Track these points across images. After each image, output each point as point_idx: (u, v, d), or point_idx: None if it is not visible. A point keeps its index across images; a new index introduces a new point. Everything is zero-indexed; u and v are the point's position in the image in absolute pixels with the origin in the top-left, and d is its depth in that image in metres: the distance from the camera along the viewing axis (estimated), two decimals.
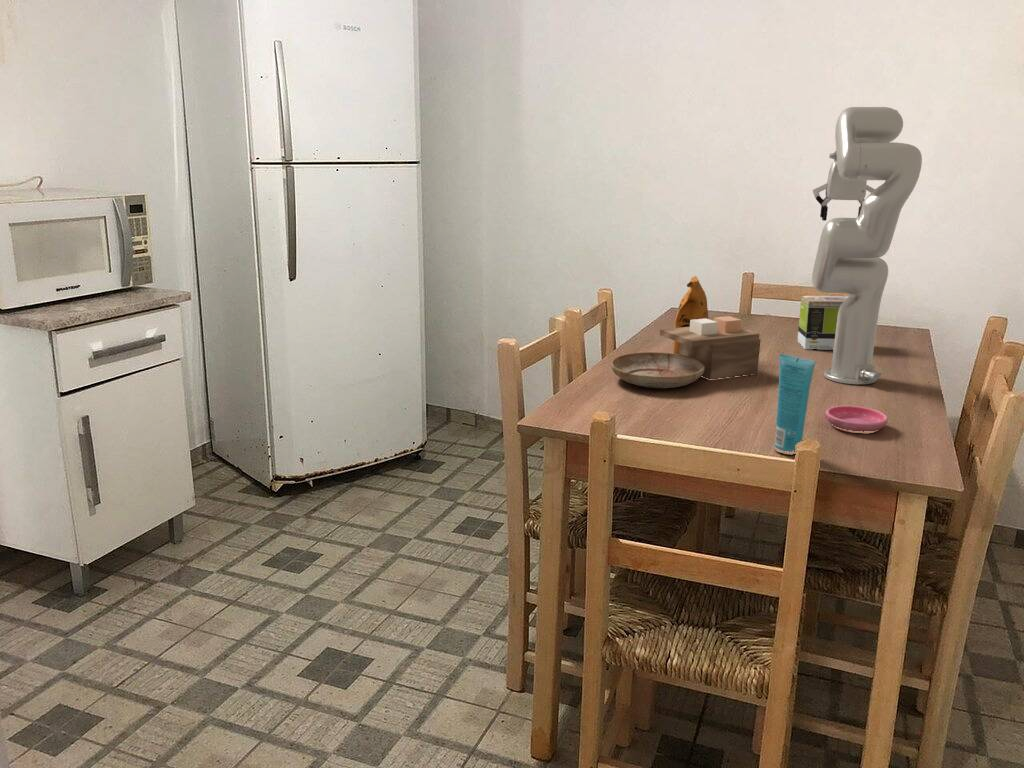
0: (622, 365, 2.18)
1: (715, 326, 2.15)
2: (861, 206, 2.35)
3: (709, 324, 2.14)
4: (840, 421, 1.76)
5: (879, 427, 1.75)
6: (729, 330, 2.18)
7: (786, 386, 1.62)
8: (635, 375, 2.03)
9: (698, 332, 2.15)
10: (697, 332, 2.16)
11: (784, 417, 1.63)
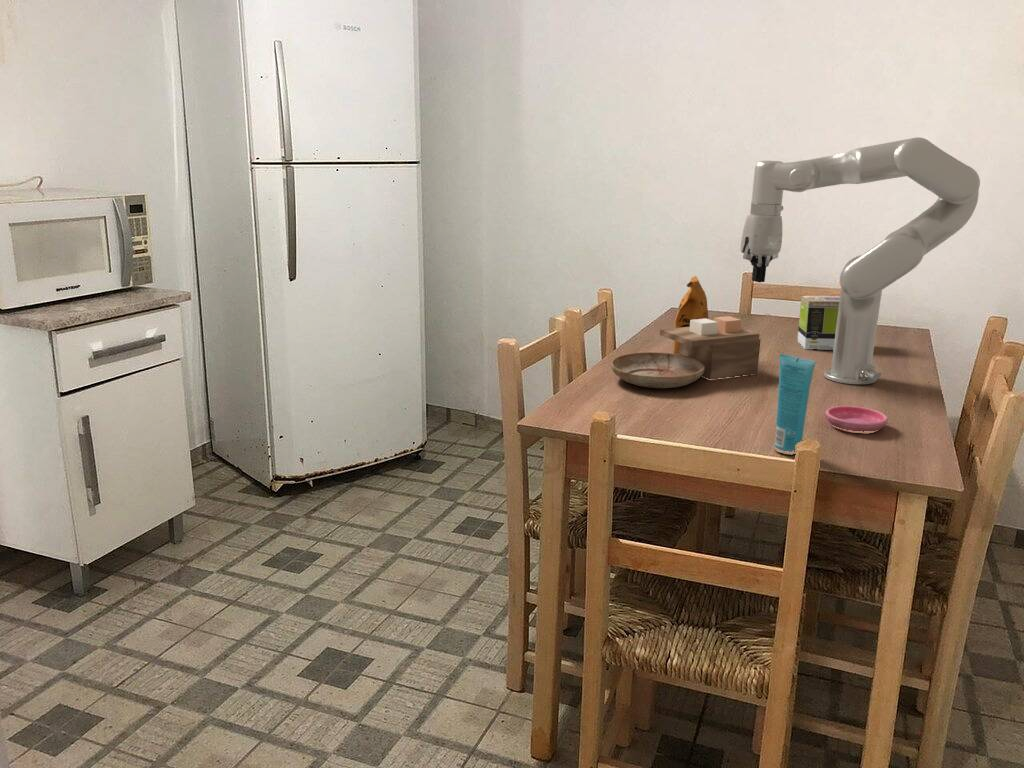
0: (622, 365, 2.18)
1: (715, 326, 2.15)
2: None
3: (709, 324, 2.14)
4: (840, 421, 1.76)
5: (879, 427, 1.75)
6: (729, 330, 2.18)
7: (786, 386, 1.62)
8: (635, 375, 2.03)
9: (698, 332, 2.15)
10: (697, 332, 2.16)
11: (784, 417, 1.63)
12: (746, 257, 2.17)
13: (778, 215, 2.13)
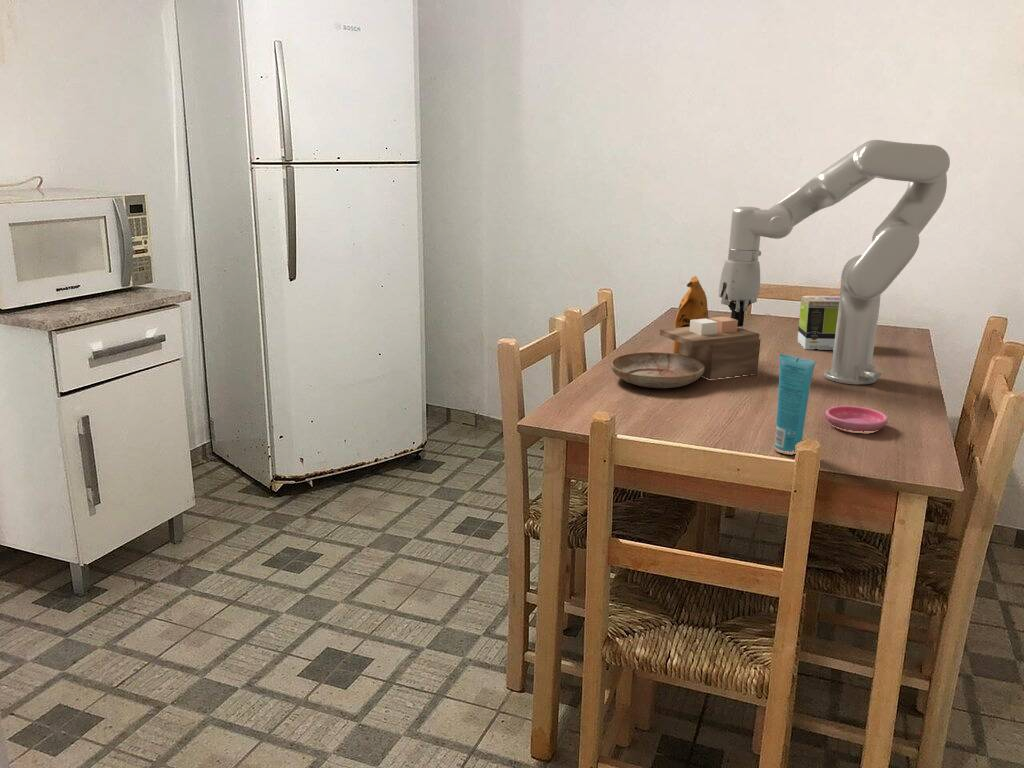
0: (622, 365, 2.18)
1: (715, 326, 2.15)
2: None
3: (709, 324, 2.14)
4: (840, 421, 1.76)
5: (879, 427, 1.75)
6: (725, 330, 2.17)
7: (786, 386, 1.62)
8: (635, 375, 2.03)
9: (698, 332, 2.15)
10: (697, 332, 2.16)
11: (784, 417, 1.63)
12: (724, 302, 2.17)
13: (755, 261, 2.14)
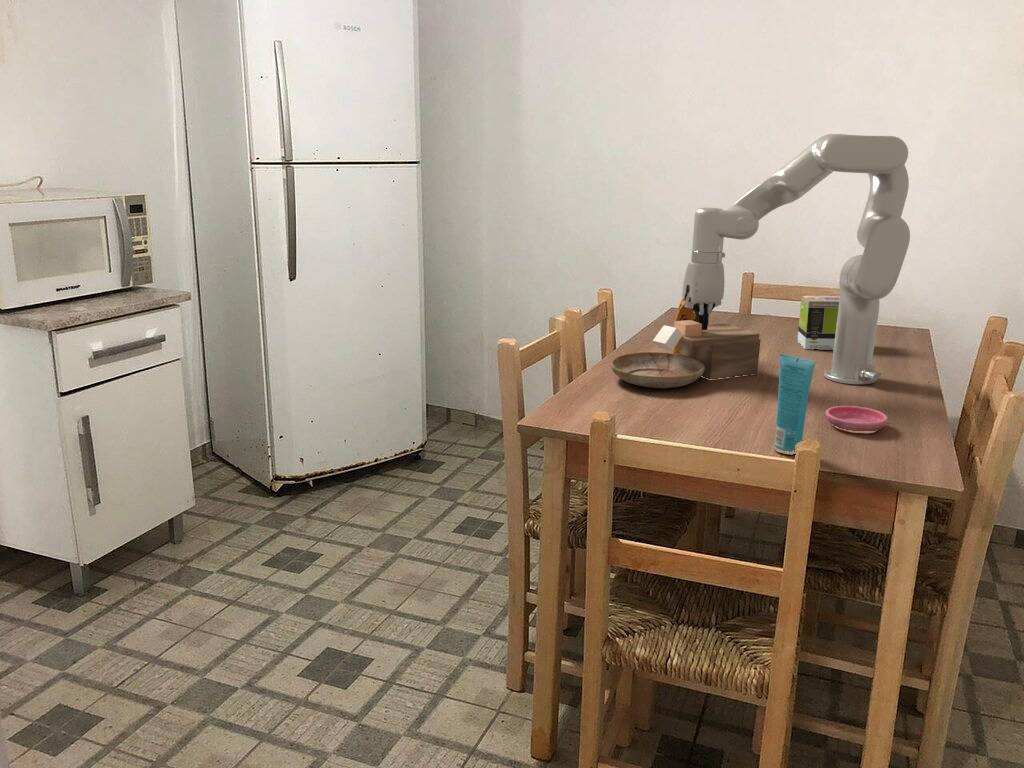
0: (622, 365, 2.18)
1: (677, 332, 2.11)
2: None
3: (671, 337, 2.10)
4: (840, 421, 1.76)
5: (879, 427, 1.75)
6: (689, 334, 2.13)
7: (786, 386, 1.62)
8: (635, 375, 2.03)
9: (668, 348, 2.12)
10: (667, 348, 2.12)
11: (784, 417, 1.63)
12: (687, 305, 2.13)
13: (719, 263, 2.10)
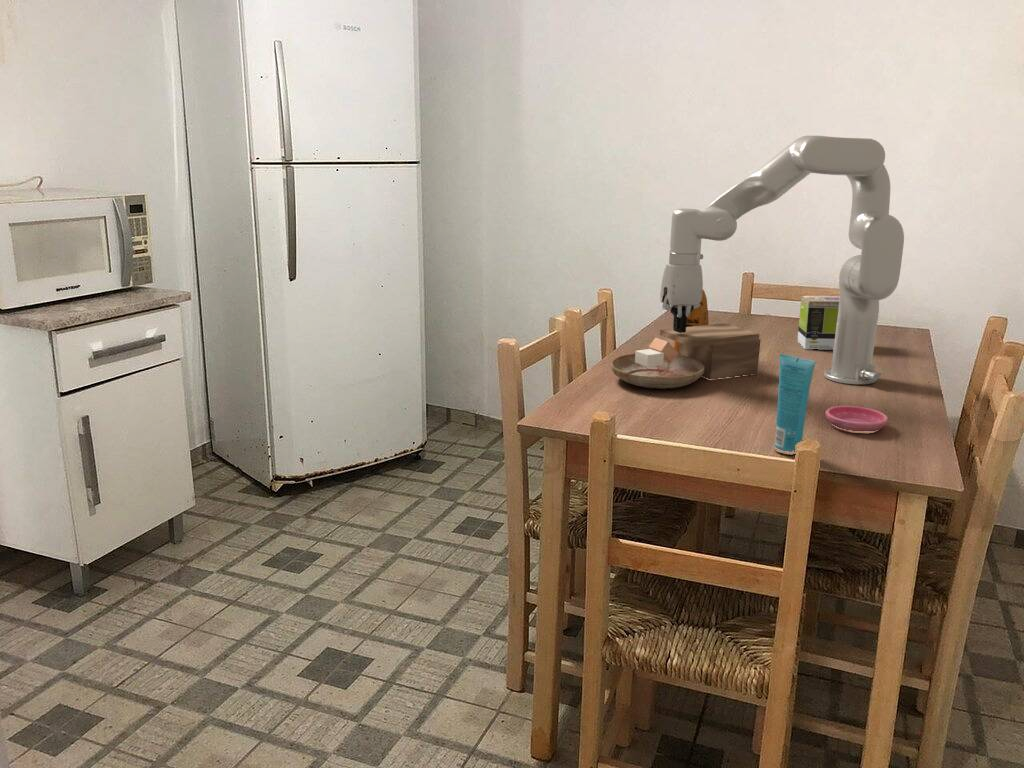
0: (622, 365, 2.18)
1: (649, 362, 2.08)
2: None
3: (655, 364, 2.09)
4: (840, 421, 1.76)
5: (879, 427, 1.75)
6: (674, 351, 2.12)
7: (786, 386, 1.62)
8: (635, 375, 2.03)
9: None
10: None
11: (784, 417, 1.63)
12: (665, 308, 2.10)
13: (696, 265, 2.07)
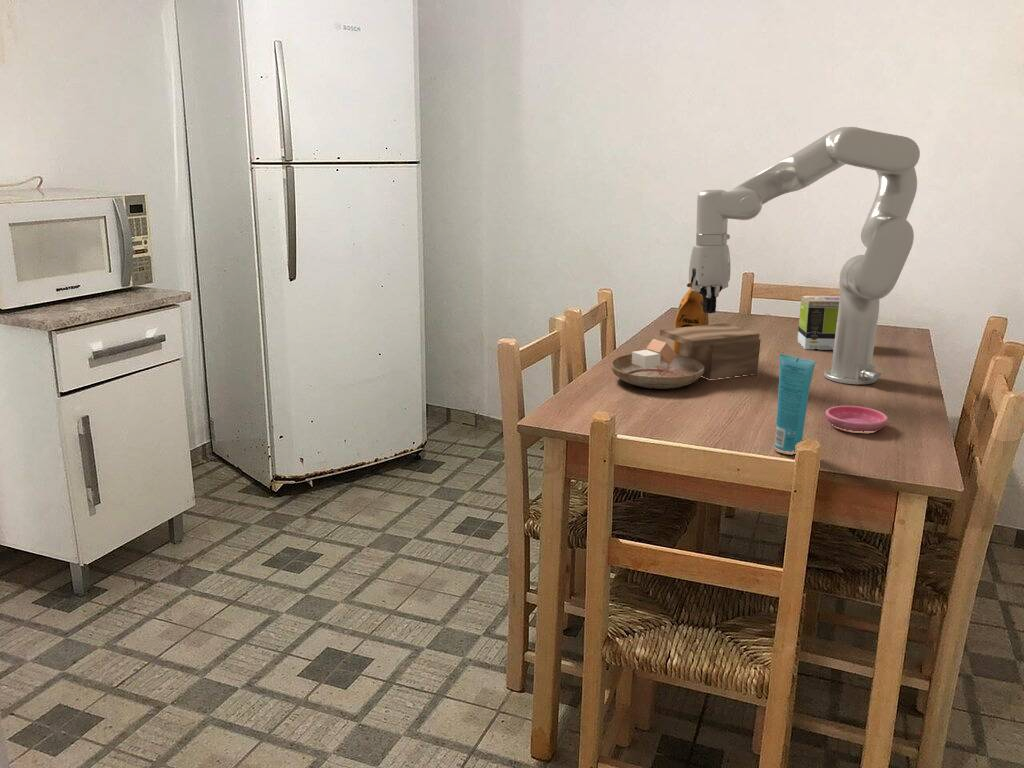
0: (622, 365, 2.18)
1: (646, 363, 2.07)
2: None
3: (652, 365, 2.09)
4: (840, 421, 1.76)
5: (879, 427, 1.75)
6: (672, 352, 2.11)
7: (786, 386, 1.62)
8: (635, 376, 2.02)
9: None
10: None
11: (784, 417, 1.63)
12: (694, 289, 2.12)
13: (724, 245, 2.09)
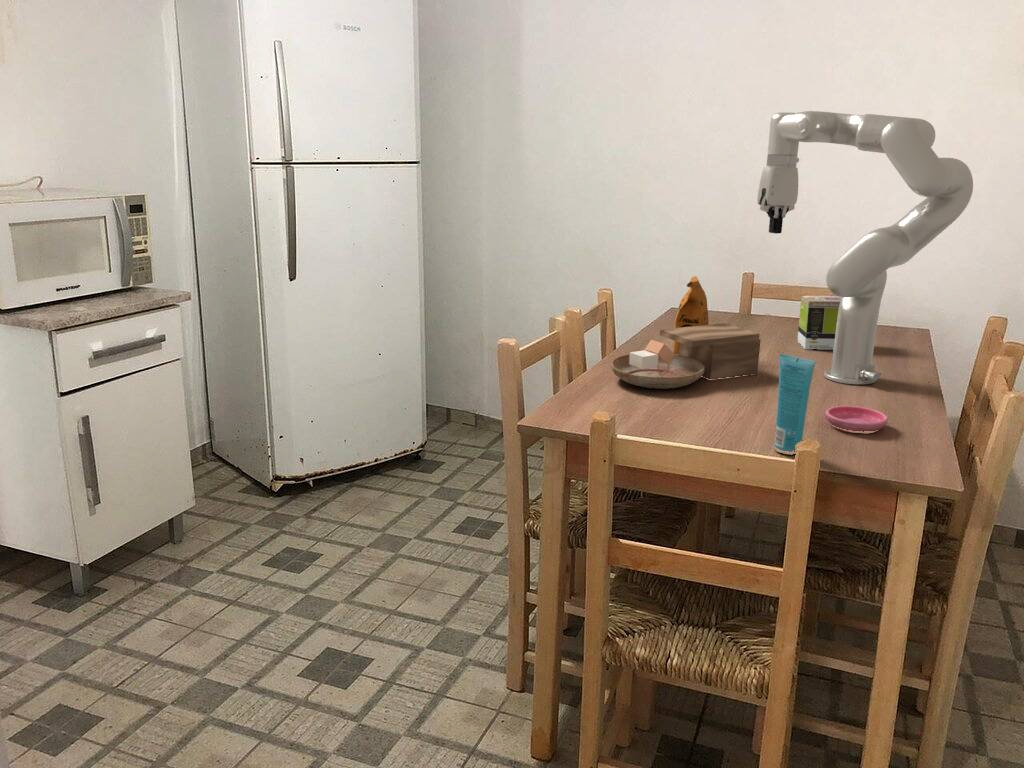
0: (622, 365, 2.18)
1: (644, 364, 2.07)
2: None
3: (650, 365, 2.08)
4: (840, 421, 1.76)
5: (879, 427, 1.75)
6: (671, 353, 2.10)
7: (786, 386, 1.62)
8: (635, 376, 2.02)
9: None
10: None
11: (784, 417, 1.63)
12: (763, 208, 2.21)
13: (794, 166, 2.18)
